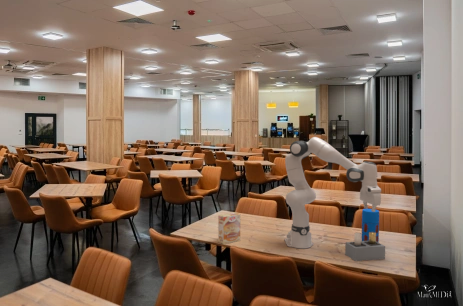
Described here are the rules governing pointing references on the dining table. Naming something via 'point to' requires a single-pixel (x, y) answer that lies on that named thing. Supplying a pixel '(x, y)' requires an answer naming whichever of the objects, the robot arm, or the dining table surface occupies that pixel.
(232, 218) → the coffeecake box
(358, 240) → the nylon peg
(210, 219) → the dining table surface
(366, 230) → the thermos
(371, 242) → the brass peg
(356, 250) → the socket block
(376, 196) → the robot arm
